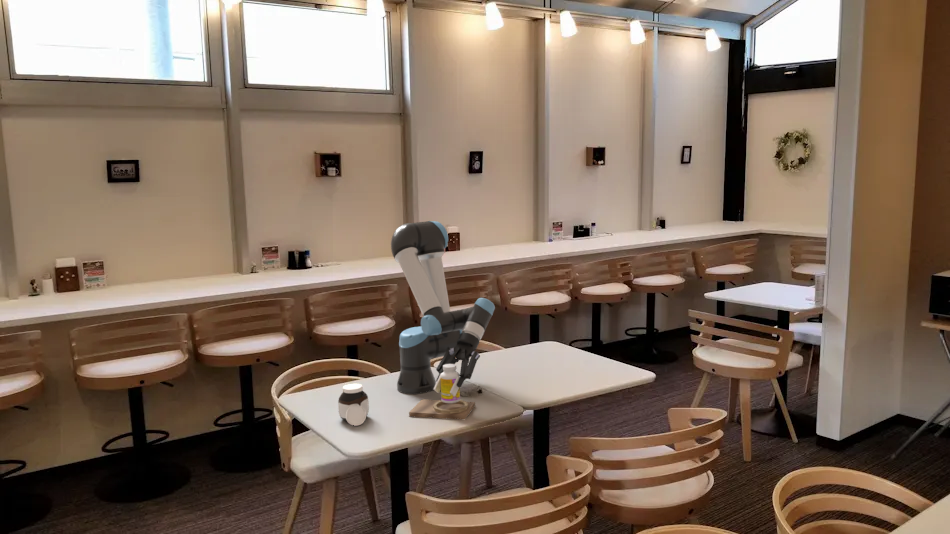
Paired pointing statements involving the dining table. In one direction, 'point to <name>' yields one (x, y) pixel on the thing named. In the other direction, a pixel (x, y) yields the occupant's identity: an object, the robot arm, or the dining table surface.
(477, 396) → the dining table surface
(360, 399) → the spread jar
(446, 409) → the seat board
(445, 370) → the supplement bottle
